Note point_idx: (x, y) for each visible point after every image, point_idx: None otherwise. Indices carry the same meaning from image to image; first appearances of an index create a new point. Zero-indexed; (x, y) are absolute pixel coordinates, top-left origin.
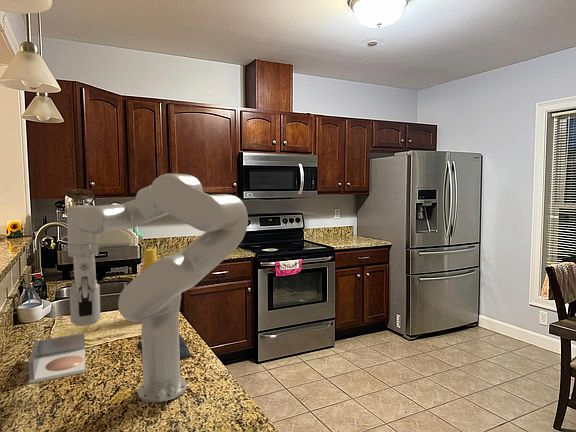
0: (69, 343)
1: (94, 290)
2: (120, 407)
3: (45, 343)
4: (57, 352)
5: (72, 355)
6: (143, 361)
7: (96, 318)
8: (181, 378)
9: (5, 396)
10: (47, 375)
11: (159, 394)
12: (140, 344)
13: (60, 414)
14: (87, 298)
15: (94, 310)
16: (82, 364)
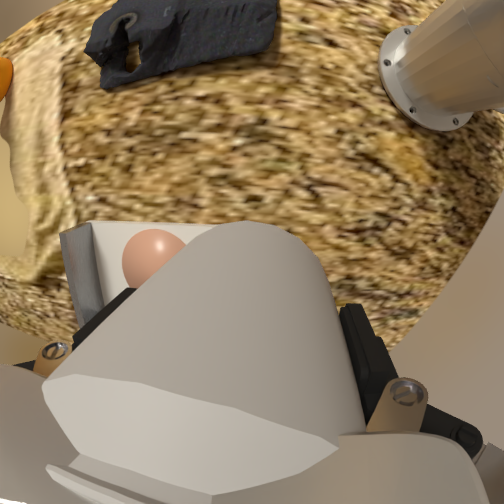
0: (83, 263)
1: (441, 438)
2: (451, 174)
3: (88, 316)
4: (98, 282)
5: (119, 252)
6: (488, 108)
7: (310, 254)
8: (412, 27)
9: None
10: None
11: (500, 109)
12: (127, 78)
13: (407, 283)
14: (450, 424)
15: (328, 292)
16: (184, 232)
